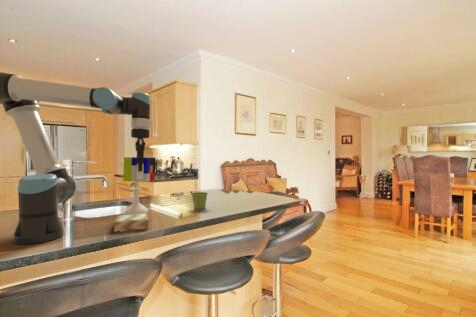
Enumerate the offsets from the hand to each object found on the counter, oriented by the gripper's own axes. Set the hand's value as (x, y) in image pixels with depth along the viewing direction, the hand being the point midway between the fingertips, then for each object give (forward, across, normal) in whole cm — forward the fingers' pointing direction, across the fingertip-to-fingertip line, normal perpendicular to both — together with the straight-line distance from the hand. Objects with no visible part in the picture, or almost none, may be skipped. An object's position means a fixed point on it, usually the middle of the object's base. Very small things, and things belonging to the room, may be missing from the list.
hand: (139, 178), depth 120 cm
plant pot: (+20, +25, -33) cm, 46 cm away
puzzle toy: (+1, 0, 0) cm, 1 cm away
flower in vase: (+21, +20, +1) cm, 29 cm away
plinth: (+21, -2, +3) cm, 21 cm away
